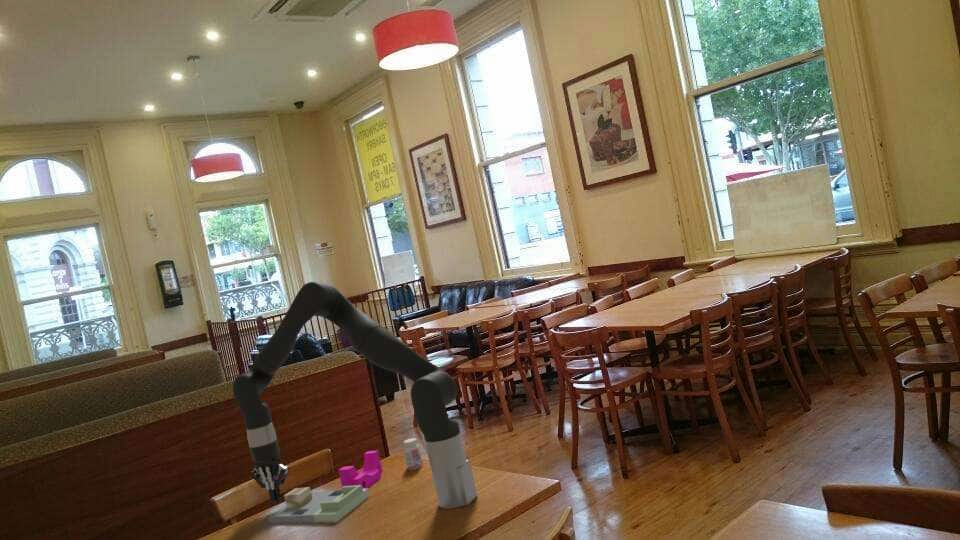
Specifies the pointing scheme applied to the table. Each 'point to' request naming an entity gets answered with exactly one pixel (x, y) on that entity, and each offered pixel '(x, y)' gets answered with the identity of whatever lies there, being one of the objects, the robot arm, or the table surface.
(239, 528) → the table surface
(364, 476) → the toy block
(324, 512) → the board
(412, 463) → the pill bottle
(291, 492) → the birch block
